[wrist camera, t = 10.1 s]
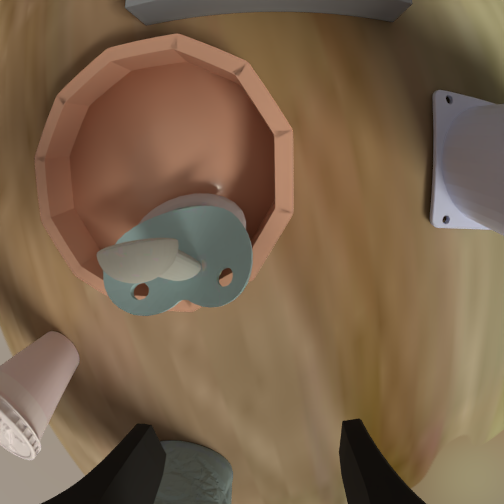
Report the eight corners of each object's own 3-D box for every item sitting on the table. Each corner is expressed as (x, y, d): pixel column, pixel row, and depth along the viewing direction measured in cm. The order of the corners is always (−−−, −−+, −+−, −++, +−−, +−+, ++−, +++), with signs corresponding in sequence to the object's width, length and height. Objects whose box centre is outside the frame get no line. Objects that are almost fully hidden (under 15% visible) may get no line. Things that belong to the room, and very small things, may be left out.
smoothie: (22, 332, 22) (-75, 431, 8) (55, 303, 20) (-68, 423, 7) (68, 388, 23) (-8, 500, 10) (108, 368, 22) (21, 510, 8)
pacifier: (131, 217, 17) (132, 321, 16) (56, 168, 12) (41, 306, 10) (253, 184, 16) (269, 303, 14) (208, 105, 10) (221, 276, 8)
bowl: (286, 45, 14) (288, 25, 11) (289, 287, 18) (291, 313, 16) (63, 78, 15) (34, 72, 12) (82, 283, 19) (58, 302, 16)
